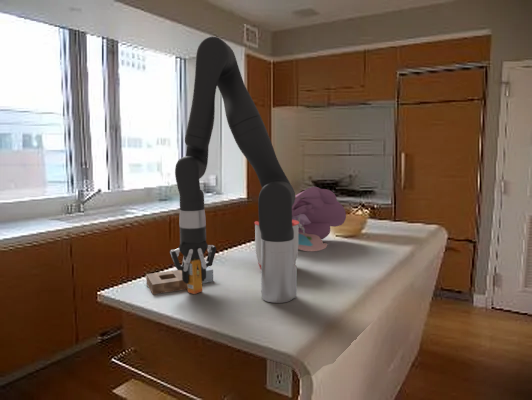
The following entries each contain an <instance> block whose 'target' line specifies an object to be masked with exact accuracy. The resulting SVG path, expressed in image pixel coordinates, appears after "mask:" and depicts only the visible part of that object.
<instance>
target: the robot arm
mask: <svg viewBox="0 0 532 400" xmlns="http://www.w3.org/2000/svg"><path fill="white" fill-rule="evenodd" d="M233 50H234V49H232V47H231V46H229V44H228V43H226V42H225V41H224V40H223V39H221V38H219V37H218V36H207V37H205V38H203V40H201V42H200V43H199V44H198V46H197V48H196V53H195V54H196V55H195V70H194V71H195V74H194V84H193V93H192V94H193V95H192V102H191V107H190V111H189V117H188V121H187V126H186V130H185V131H186V132H185V136H184V143H185V145H186V151H185V156H182V157H181V158H179V159H178V160H177V162H176V165H175V168H174V174H175V176H174V177H175V181H176V186H177V190H178V192H179V216H178V217H179V218H178V219H179V222H178V226H179V246H178V248H176V249H170V250H169V254H170V257H171V259H172V261H173V264H174V267H175V269H176V270H181V271H182V280H183V281H184V282H185V283H186V284H188V271H187V270H188V266H189V264H190V260H193V259H200V262H201V273H202V281H204V279H206V268H207V267H212V265H213V263H214V260H215V255H216V252H217V247H216V246H215V245H213V244H208V242H207V227H206V226H207V224H206V223H207V222H206V220H207V219H206V212H205V194H204V191H203V190H202V189H201V183H200V179H202V177H204V175H205V173H206V171H207V169H208V163H209V162H208V161H209V145H210V142H211V138H212V133H213V128H214V125H215V109H216V108H215V102H216V93H217V88H218V90H219V92H220V95H221V98H222V101H223V107H224V112H225V113H224V114H225V116H226V117H225V118H226V122H227V125H228V128H229V129H230V132H231V134H232V137H233V139H234V141H235V143H236V145H237V147H238V148H239V150H240V151H241V153H242V154H243V156H244V157H245V158H246V160H247V161H248V162H249V164H250V166H251V167H252V169H253V170H254V172H255V174H256V176H257V179H258V181H259V184H260V187H261V189H260V192H259V195H258V200H257V201H258V202H257V207H258V208H257V209H258V211H257V212H258V222H259V228H260V232H261V269H260V270H261V271H260V274H261V275H260V281H261V283H260V284H261V286H260V287H261V288H260V292H261V293H260V294H261V299H262V301H265V302H266V303H267V302H268V303H273V304H282V303H283V304H284V303H287V302H290V301H293V299H297V293H298V292H297V288H298V287H297V281H298V280H297V277H298V276H297V268H298V267H297V265H296V264H294V230H293V226H292V206H293V204H294V202H295V198H296V192H295V189H294V187H293V186H292V183H291V182H290V180H289V179H288V177H287V175H286V174H285V172H284V170H283V167H282V166H281V164H280V162H279V159H278V158H277V155H276V151H275V149H274V146H273V143H272V141H271V138H270V136H269V133H268V130H267V128H266V126H265V125H266V124H265V123H264V121H263V119H262V116H261V114H260V112H259V110H258V108H257V106H256V104H255V101H254V100H253V98H252V96H251V95H250V92H249V91H248V89H247V87H246V85H245V82H244V80H243V76H242V74H241V70H240V68H239V63H238V61H237V58H236V55H235V52H234V51H233ZM206 251H207V252H208V253H207V256H206V259H205V256H204V254H205V253H206ZM180 254H182V256H183V258H182V264H181V263H180V261H179V255H180Z"/></svg>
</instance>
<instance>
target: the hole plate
mask: <svg viewBox="0 0 532 400" xmlns="http://www.w3.org/2000/svg"><path fill="white" fill-rule="evenodd" d="M145 276H146V284H147V286H148V288H149V290H150V291H151V293H152V295H158V294H159V295H160V294H164V293H172V292H177V291H178V292H179V291H184V290H188V287H187V284H186V283H185V282H184V281H183V280H182V271H181V270H177V269H175V270H174V269H173V270H168V271H162V272H161V271H160V272H159V271H158V272H154V273H153V272H152V273H146V274H145Z"/></svg>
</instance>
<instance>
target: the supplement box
mask: <svg viewBox="0 0 532 400" xmlns="http://www.w3.org/2000/svg"><path fill="white" fill-rule="evenodd" d="M187 271H188V284H187V287H188V289H187V293H189V294H192V295H197V294H199V293H202V292H203V283H202V273H201V262H200V259H193V260H190V264H189V266H188V270H187Z"/></svg>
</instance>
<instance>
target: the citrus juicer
mask: <svg viewBox="0 0 532 400" xmlns="http://www.w3.org/2000/svg"><path fill="white" fill-rule="evenodd" d="M253 223H254V230H255V231H254V233H255V234H254V235H255V237H254V239H255V240H254V242H255V243H254V245H255V256H256V259H257V263H258V266H259V269H260V270H261V232H260V228H259V220H255V221H254V222H253ZM298 224H299V222H298V221H296V220H292V226H293V230H294V264H295V265H296V263H297V262H296V261H297V259H298V254H299V249H298Z"/></svg>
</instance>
